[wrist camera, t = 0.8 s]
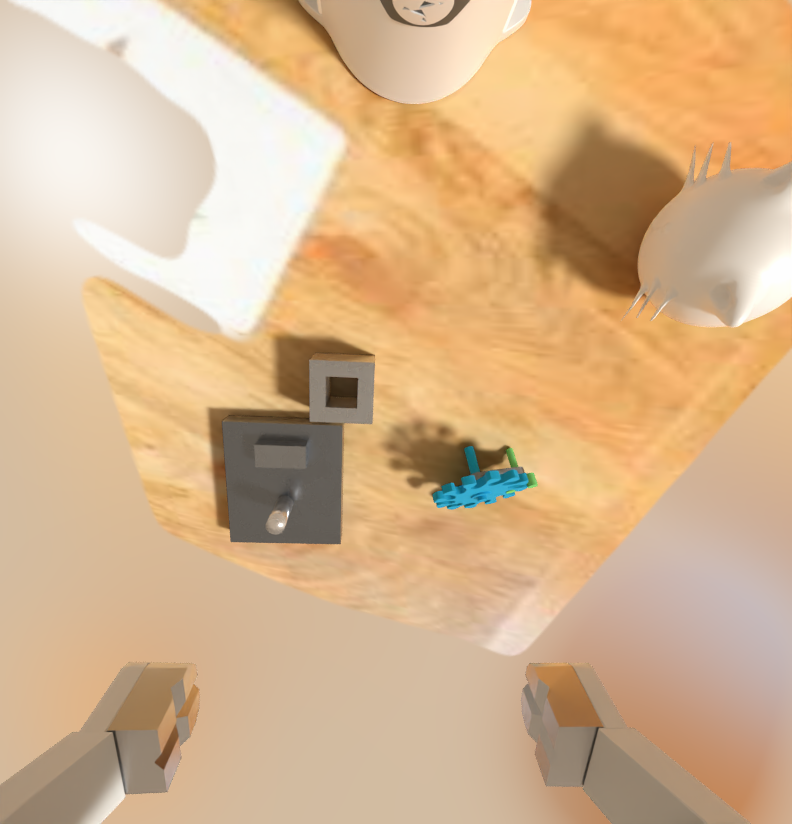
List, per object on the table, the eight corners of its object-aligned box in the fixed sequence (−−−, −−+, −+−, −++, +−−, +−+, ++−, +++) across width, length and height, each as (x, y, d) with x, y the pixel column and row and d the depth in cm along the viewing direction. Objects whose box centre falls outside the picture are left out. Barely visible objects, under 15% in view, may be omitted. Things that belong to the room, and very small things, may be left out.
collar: (315, 352, 42) (309, 359, 38) (374, 355, 42) (374, 362, 38) (315, 409, 44) (309, 421, 40) (372, 411, 44) (372, 423, 40)
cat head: (697, 349, 43) (815, 373, 32) (584, 315, 42) (664, 327, 30) (771, 196, 39) (938, 160, 28) (649, 152, 38) (771, 94, 26)
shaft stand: (228, 415, 43) (204, 437, 37) (344, 419, 44) (338, 442, 38) (236, 531, 47) (215, 568, 41) (341, 533, 48) (336, 570, 42)
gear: (427, 519, 46) (445, 492, 38) (418, 469, 49) (432, 433, 40) (520, 505, 48) (557, 476, 39) (505, 458, 51) (538, 421, 42)
